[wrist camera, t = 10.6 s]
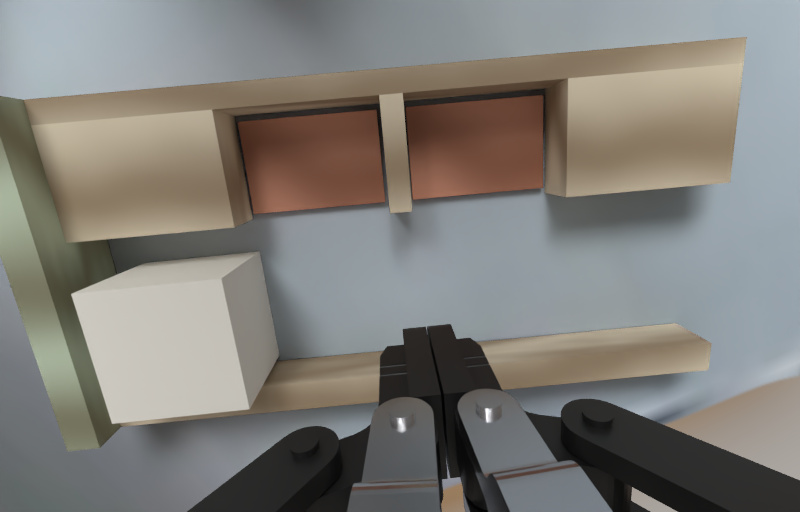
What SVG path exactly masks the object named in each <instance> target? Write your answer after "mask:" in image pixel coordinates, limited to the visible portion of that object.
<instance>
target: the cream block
mask: <svg viewBox="0 0 800 512" xmlns="http://www.w3.org/2000/svg"><path fill="white" fill-rule="evenodd" d="M71 296H72V299H73V302H74V305H75V308H76V311H77V315H78V318H79V321H80V324H81V327H82V330H83V334H84V337H85V340H86V343H87V346H88V349H89V353H90V356H91V359H92V362H93V365H94V368H95V371H96V375H97V378H98V381H99V384H100V387H101V390H102V394H103V397H104V400H105V403H106V406H107V409H108V413H109V416H110V419H111V422H112V424H116V423H125V422H135V421H144V420H153V419H163V418H172V417H182V416H191V415H201V414H210V413H219V412H229V411H238V410H248V409H250V408H251V406H252V404H253V402H254V400H255V399H256V397H257V395H258V393H259V391H260V390H261V388H262V386H263V384H264V382H265V380H266V379H267V377H268V375H269V373H270V371H271V370H272V368H273V366H274V364H275V362H276V361H277V359H278V357H279V351H278V345H277V340H276V335H275V329H274V324H273V319H272V314H271V308H270V303H269V298H268V292H267V287H266V282H265V277H264V271H263V266H262V261H261V255H260V251H257V252H247V253H237V254H228V255H218V256H208V257H198V258H189V259H179V260H169V261H159V262H149V263H143V264H141V265H139V266H136V267H134V268H132V269H129V270H127V271H124V272H122V273H120V274H117V275H115V276H113V277H110V278H108V279H105V280H103V281H101V282H98V283H96V284H94V285H91V286H89V287H86V288H84V289H82V290H79V291H77V292H75V293H72V294H71Z"/></svg>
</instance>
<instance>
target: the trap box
mask: <svg viewBox="0 0 800 512" xmlns="http://www.w3.org/2000/svg"><path fill="white" fill-rule="evenodd" d="M746 38H747V37H741V38H729V39H718V40H706V41H695V42H683V43H672V44H660V45H649V46H637V47H626V48H614V49H603V50H591V51H580V52H568V53H557V54H545V55H534V56H522V57H511V58H499V59H488V60H476V61H465V62H453V63H442V64H430V65H419V66H407V67H396V68H384V69H373V70H361V71H350V72H338V73H327V74H315V75H304V76H292V77H281V78H269V79H258V80H246V81H235V82H223V83H212V84H200V85H189V86H177V87H166V88H154V89H143V90H131V91H120V92H108V93H97V94H85V95H74V96H62V97H51V98H39V99H28V100H21V99H15V98H9V97H3V96H0V256H1V259H2V262H3V265H4V268H5V271H6V274H7V276H8V279H9V282H10V285H11V288H12V291H13V294H14V297H15V300H16V303H17V306H18V308H19V311H20V314H21V317H22V320H23V323H24V326H25V329H26V332H27V335H28V338H29V340H30V343H31V346H32V349H33V352H34V355H35V358H36V361H37V364H38V367H39V370H40V372H41V375H42V378H43V381H44V384H45V387H46V390H47V393H48V396H49V399H50V402H51V404H52V407H53V410H54V413H55V416H56V419H57V422H58V425H59V428H60V431H61V434H62V436H63V439H64V442H65V445H66V448H67V451H74V450H85V449H95V448H100V447H101V446H102V445H103V444H104V443H105V442H106V441H107V440H108V439H109V438H110V437H111V436H112V435H113V434H114V433H115V432H116V431H117V430H118V429H119V428H120V427H123V426H134V425H144V424H154V423H165V422H175V421H185V420H196V419H206V418H217V417H227V416H237V415H248V414H258V413H268V412H279V411H289V410H299V409H310V408H320V407H330V406H341V405H351V404H361V403H372V402H379V377H380V355H381V354H382V353H383V351H378V352H367V353H357V354H346V355H336V356H325V357H315V358H304V359H294V360H283V361H276V362H275V364H274V366H273V368H272V370H271V371H270V373H269V375H268V377H267V379H266V380H265V382H264V384H263V386H262V388H261V390H260V391H259V393H258V395H257V397H256V399H255V400H254V402H253V404H252V406H251V408H250V409H248V410H238V411H229V412H219V413H210V414H201V415H191V416H182V417H172V418H163V419H153V420H144V421H135V422H125V423H116V424H112V422H111V419H110V416H109V413H108V409H107V406H106V403H105V400H104V397H103V394H102V390H101V387H100V384H99V381H98V378H97V375H96V371H95V368H94V365H93V362H92V359H91V356H90V353H89V349H88V346H87V343H86V340H85V337H84V334H83V330H82V327H81V324H80V321H79V318H78V315H77V311H76V308H75V305H74V302H73V299H72V296H71V294H72V293H75V292H77V291H79V290H82V289H84V288H86V287H89V286H91V285H94V284H96V283H98V282H101V281H103V280H105V279H108V278H110V277H113V276H115V275H117V274H116V270H115V266H114V263H113V259H112V255H111V252H110V248H109V244H108V241H107V239H115V238H126V237H137V236H148V235H159V234H170V233H181V232H192V231H203V230H214V229H225V228H235V227H237V226H239V225H242V224H244V223H246V222H248V221H251V220H253V216H252V211H251V205H250V200H249V194H248V188H247V183H246V177H245V172H244V166H243V161H242V155H241V149H240V144H239V138H238V133H237V127H236V121H235V116H243V115H254V114H266V113H277V112H288V111H300V110H311V109H323V108H334V107H345V106H357V105H368V104H379V103H380V110H381V121H382V132H383V143H384V153H385V164H386V175H387V185H388V196H389V207H390V213H400V212H411V211H412V202H411V189H410V177H409V164H408V152H407V139H406V127H405V114H404V101H413V100H425V99H436V98H448V97H459V96H470V95H482V94H493V93H504V92H516V91H527V90H539V89H545V193H547V194H552V195H557V196H562V197H576V196H587V195H598V194H609V193H620V192H631V191H642V190H653V189H664V188H675V187H686V186H697V185H708V184H718V183H729V182H730V177H731V168H732V160H733V151H734V142H735V134H736V125H737V116H738V107H739V99H740V90H741V81H742V73H743V64H744V55H745V46H746ZM405 109H406V122H407V135H408V147H409V160H410V173H411V185H412V198H413V200H414V199H425V198H436V197H447V196H458V195H469V194H480V193H491V192H502V191H513V190H524V189H535V188H543V95H536V96H525V97H514V98H502V99H491V100H480V101H468V102H457V103H446V104H434V105H423V106H412V107H406V108H405ZM238 127H239V133H240V138H241V144H242V149H243V155H244V161H245V166H246V172H247V178H248V183H249V189H250V194H251V200H252V206H253V211H254V214H260V213H271V212H282V211H293V210H304V209H315V208H326V207H337V206H348V205H359V204H370V203H381V202H385V194H384V183H383V173H382V162H381V152H380V141H379V131H378V120H377V110H366V111H355V112H344V113H332V114H321V115H309V116H298V117H287V118H275V119H264V120H253V121H241V122H238ZM476 343H478V344H479V345H481V347H482V349H483V352H484V354H485V357H486V358H487V360H488V362H489V365H490V366H491V368H492V370H493V372H494V374H495V376H496V378H497V380H498V382H499V384H500V386H501V388H502V390H506V389H517V388H527V387H537V386H548V385H558V384H569V383H579V382H589V381H600V380H610V379H620V378H631V377H641V376H651V375H662V374H672V373H682V372H693V371H703V370H708V369H709V360H710V352H711V343H710V342H708V341H707V340H705V339H703V338H701V337H699V336H698V335H696V334H694V333H692V332H691V331H689V330H687V329H685V328H683V327H682V326H680V325H678V324H676V323H672V324H662V325H651V326H641V327H630V328H620V329H609V330H599V331H588V332H578V333H567V334H557V335H546V336H536V337H525V338H515V339H504V340H494V341H483V342H476Z"/></svg>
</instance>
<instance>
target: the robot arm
mask: <svg viewBox="0 0 800 512" xmlns="http://www.w3.org/2000/svg"><path fill="white" fill-rule="evenodd" d="M427 333H428V335H427ZM403 338H404V345H397V346H387V347H386V349H385V350H384V351H383V353H382V354H381V355H380V377H379V407H378V408H377V409H376V410H375V412H374V413H373V416H372V421H371V424H370V425H369V426H368V427H367V428H365V429H364V430H362V431H361V432H359V433H357V434H354V435H352V436H349V437H346V438H343V439H340V440H339V439H338V436H337V435H336V433H335V432H334V431H332V430H331V429H328V428H326V427H321V426H312V427H305V428H302V429H299V430H296V431H294V432H292V433H290V434H288V435H287V436H286V437H284V438H283V439H281V440H280V441H279V442H278V443H276V444H275V445H274V446H272V447H271V448H270V449H268V450H267V451H266V452H265V453H263V454H262V455H261V456H259V457H258V458H257V459H255V460H254V461H253V462H251V463H250V464H249V465H248V466H246V467H245V468H244V469H242V470H241V471H240V472H238V473H237V474H236V475H234V476H233V477H232V478H231V479H229V480H228V481H227V482H225V483H224V484H223V485H221V486H220V487H219V488H218V489H216V490H215V491H214V492H212V493H211V494H210V495H208V496H207V497H206V498H204V499H203V500H202V501H201V502H199V503H198V504H197V505H195V506H194V507H193V508H191V509H190V510H189V511H187V512H442V509H441V503H442V500H443V487H442V479H448V478H447V465H446V459H447V464H448V469H449V474H450V478H456V477H461V482H462V486H463V498H464V508H465V512H650V511H648V510H646V509H645V508H642V507H641V506H639V505H637V504H636V503H634V502H632V501H631V492H632V487H634V488H635V489H637V490H639V491H641V492H643V493H644V494H646V495H648V496H650V497H652V498H654V499H656V500H657V501H659V502H661V503H663V504H665V505H667V506H669V507H671V508H672V509H674V510H676V511H678V512H800V480H797V479H795V478H792V477H790V476H787V475H785V474H782V473H780V472H778V471H775V470H772V469H770V468H767V467H765V466H763V465H760V464H758V463H755V462H753V461H751V460H748V459H746V458H743V457H741V456H738V455H736V454H733V453H731V452H728V451H726V450H724V449H721V448H718V447H716V446H714V445H711V444H709V443H706V442H704V441H702V440H699V439H696V438H694V437H692V436H689V435H687V434H684V433H682V432H679V431H677V430H675V429H672V428H670V427H667V426H665V425H662V424H660V423H657V422H655V421H652V420H650V419H648V418H645V417H643V416H640V415H638V414H635V413H633V412H630V411H628V410H625V409H623V408H621V407H618V406H616V405H613V404H611V403H608V402H605V401H601V400H595V399H578V400H574V401H571V402H569V403H567V404H566V405H565V406H564V407H563V409H562V411H561V417H552V416H544V415H537V414H533V413H529V412H526V411H524V410H523V409H522V407H521V406H520V404H519V403H518V401H517V400H516V399H515V398H514V397H513V396H511V395H510V394H508V393H506V392H503V390H502V388H501V386H500V384H499V382H498V380H497V378H496V376H495V374H494V372H493V370H492V368H491V366H490V365H489V362H488V360H487V358H486V357H485V354H484V352H483V349H482V347H481V345H479V344H478V343H476V342H475V341H473V340H472V339H471V338H464V339H456V337H455V334H454V331H453V329H452V326H451V324H446V325H437V326H427V330H426V327H418V328H408V329H403Z"/></svg>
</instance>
